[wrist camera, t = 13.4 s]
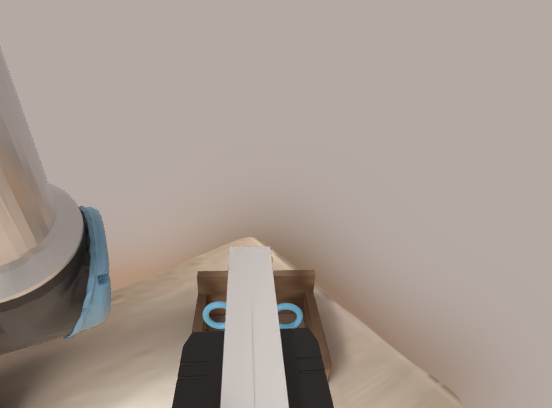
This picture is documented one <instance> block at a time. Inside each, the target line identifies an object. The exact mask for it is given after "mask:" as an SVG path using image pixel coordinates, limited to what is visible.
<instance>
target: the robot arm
mask: <svg viewBox="0 0 552 408" xmlns="http://www.w3.org/2000/svg"><path fill="white" fill-rule="evenodd" d="M110 306H111V286H110V277H109V260H108V251H107V244H106V236H105V231H104V226H103V221H102V218H101V215H100V213H99V211H98V210H96V209H94V208H91V207H87V208H85V207H83V206H80V207H78V206H77V204H76V202H75V201H74V200H73V199H72V197H71V196H70V195H69V194H67V193H66V192H65V191H63V190H62V189H60V188H58V187H56V186H54V185H52V184H50V183H48V181H47V178H46V175H45V172H44V169H43V167H42V164H41V161H40V158H39V155H38V152H37V150H36V147H35V144H34V141H33V138H32V135H31V133H30V130H29V127H28V124H27V121H26V119H25V116H24V113H23V110H22V107H21V105H20V102H19V99H18V96H17V93H16V90H15V87H14V85H13V82H12V79H11V76H10V73H9V71H8V68H7V65H6V62H5V59H4V56H3V54H2V51H1V48H0V355H2V354H5V353H9V352H12V351H16V350H19V349H23V348H26V347H30V346H33V345H37V344H41V343H44V342H48V341H51V340H55V339H58V338H62V337H63V338H69V337H73V335H75V334H77V333H78V332H81V331H84V330H87V329H90V328H93V327H96V326H98V325H100V324H101V323H102V322H104V321H105V319H106V318H107V316H108V314H109V312H110ZM172 408H334V407H333V402H332V398H331V394H330V389H329V385H328V381H327V376H326V373H325V368H324V364H323V360H322V355H321V351H320V346H319V342H318V340H317V339H316V337H315V336H314V335H313V333H312V332H311V331H310V329H309V328H288V329H280V328H279V319H278V311H277V302H276V294H275V285H274V277H273V268H272V260H271V252H270V247H269V246H266V247H230V249H229V266H228V284H227V301H226V318H225V331H214V332H192V334H191V335H190V337H189V338H188V340H187V341H186V343H185V344H184V346H183V350H182V356H181V361H180V367H179V372H178V380H177V383H176V389H175V394H174V400H173V405H172Z"/></svg>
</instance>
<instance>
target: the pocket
mask: <svg viewBox="0 0 552 408" xmlns="http://www.w3.org/2000/svg"><path fill="white" fill-rule="evenodd" d="M273 277H274V285H275V294H276V302H277V305H278V304H281V303H291V304H294V305H296V306H298V307H299V308H300V309H301V311H302V313H303V317H304V322H305V327H306V328H309V329H310V331H311V332H312V333H313V335H314V336H315V337H316V339H317V340H318V342H319V346H320V351H321V355H322V360H323V364H324V368H325V373H326V376H327V381H328V378H329V372H330V367H331V360H330V356H329V352H328V348H327V344H326V340H325V336H324V332H323V328H322V324H321V320H320V317H319V313H318V309H317V305H316V301H315V297H314V293H313V289H314V281H315V273H314V270H282V271H273ZM197 282H198V299H197V305H196V311H195V317H194V323H193V330H192V332H206V327H207V324H206V322H205V321H204V319H203V311H204V309H205V307H206V306H207V305H209V304H210V303H213V302H217V301H222V302H226V301H227V284H228V271H198V275H197ZM278 313H295V312H293V311H291V310H281V311H279V312H278ZM209 315H226V309H223V308H215V309H213V310H211V311H210V313H209Z"/></svg>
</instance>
